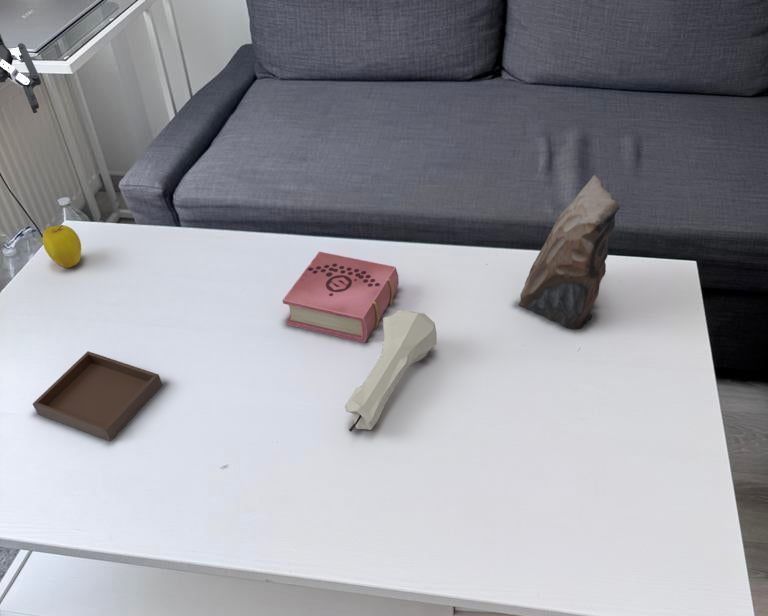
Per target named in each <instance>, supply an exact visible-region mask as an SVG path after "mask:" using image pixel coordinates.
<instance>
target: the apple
mask: <svg viewBox="0 0 768 616" xmlns="http://www.w3.org/2000/svg"><path fill="white" fill-rule="evenodd" d="M42 246H43V248H44V250H45V252H46V254H47V255H48V257H49V258H50V259H51V260H52V261H53V262H55V263H56V264H57V265H58V266H59V267H62V268H66V269H67V268H71V267H74V266H77V265H78V263H79V262H80V261H81V257H82V256H81V255H82V241H81V239H80V236H79V235H78V234H77V232H76V231H75V230H74V229H73V228H72V227H70V226H68V225H64V224H59V225H54V226H49V227H47V228H46V229H45V230H44V232H43V234H42Z"/></svg>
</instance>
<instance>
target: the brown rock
mask: <svg viewBox="0 0 768 616" xmlns="http://www.w3.org/2000/svg"><path fill="white" fill-rule="evenodd" d="M620 208H621V207H620V206H619V204H618V202H617V200H615V199H614V197H613V194H612V193H610V192H608V191H607V190H606V189H605V188H604V186H603V181H602V180H601V179H600V178H599V177H598V175H597V174H593V175H592V176H591V178H590V180H588V182H587V183H586V184H585V185H584V187H583V188H581V190H580V191H579V192H578V194H577V195H576V197H574V199H573V200H572V202H571V203H570V204H568V206H567V207H566V208H564V210H563V211H562V212H561V214H560V215H559V216H558V217H557V219H556V221H555V223H554V225H553V227H552V229H551V231H550V233H549V235H548V237H547V238H546V241H545V242H544V244H543V245H542V247H541V249H540V251H539V252H538V255H536V259H535V260H534V262H533V263H532V266H531V267H530V270H529V272H528V276H527V277H526V280H525V282H524V286H523V288H522V290H521V292H520V295H519V296H520V301H519V303H518V307H521V308H524V309H526V310H527V311H530V312H533V313H534V314H536V315H538V316H541V317H544V318H546V319H547V320H548V321H550V322H555V323H557V324H559V325H561V326H562V327H564V328H566V329H571V330H581V329H583V328H584V327H585V325H587V324H588V323H589V322H590V321H591V320H592V318H593V315H592V313H591V311H592V309H593V306H594V304H595V302H596V300H597V298H598V296H599V294H600V293H599V292H600V286H601V282H602V280H603V278H604V277H605V275H606V272H607V265H606V260H607V258H608V255H609V250H608V242H609V239H610V235H611V234H612V232H613V231H614V229H615V225H616V218H615V217H616V214H617V213H618V211H619V210H620Z"/></svg>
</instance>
